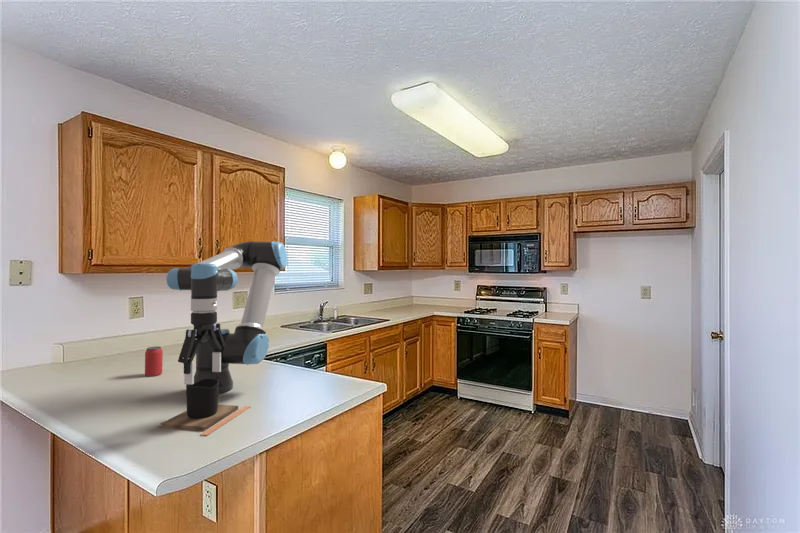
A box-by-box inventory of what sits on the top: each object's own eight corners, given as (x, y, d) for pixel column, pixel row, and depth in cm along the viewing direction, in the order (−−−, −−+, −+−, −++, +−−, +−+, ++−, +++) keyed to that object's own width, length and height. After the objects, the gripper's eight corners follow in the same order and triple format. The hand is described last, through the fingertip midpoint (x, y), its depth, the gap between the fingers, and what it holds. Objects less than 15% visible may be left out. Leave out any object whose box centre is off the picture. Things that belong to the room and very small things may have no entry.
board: (161, 427, 118) (161, 423, 118) (200, 406, 135) (200, 403, 135) (203, 430, 115) (204, 426, 115) (238, 409, 133) (238, 405, 133)
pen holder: (215, 418, 122) (216, 385, 122) (182, 420, 120) (182, 388, 120) (220, 407, 131) (221, 377, 131) (189, 410, 129) (189, 379, 129)
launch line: (200, 435, 112) (200, 434, 112) (245, 406, 136) (245, 405, 136) (206, 436, 112) (206, 434, 112) (251, 406, 136) (251, 406, 136)
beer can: (141, 375, 172) (141, 348, 172) (155, 372, 178) (155, 345, 178) (151, 377, 170) (152, 349, 170) (165, 373, 176) (166, 346, 176)
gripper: (187, 317, 113) (187, 390, 113) (236, 307, 137) (236, 367, 138) (164, 316, 114) (164, 389, 114) (217, 306, 138) (216, 366, 139)
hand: (203, 377), depth 126 cm, fingers open, 13 cm apart
